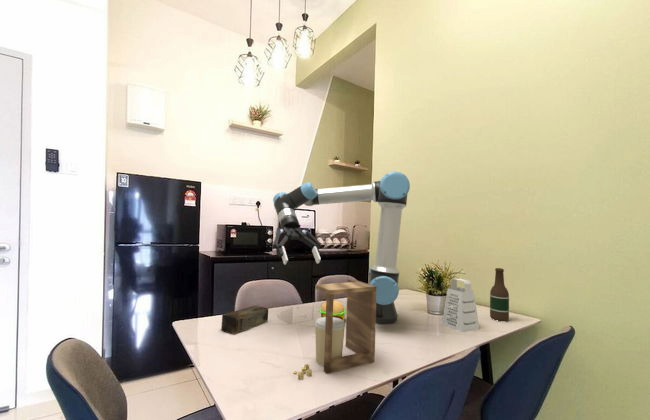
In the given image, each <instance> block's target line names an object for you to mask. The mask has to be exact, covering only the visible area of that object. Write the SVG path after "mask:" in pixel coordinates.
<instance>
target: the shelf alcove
mask: <svg viewBox="0 0 650 420" xmlns="http://www.w3.org/2000/svg"><path fill="white" fill-rule="evenodd" d="M376 288H377V286H373V285H370V284H369V283H366V282H363V281H360V280H357V279H354V278H347V282H336V283H334V282H333V283H322V284H315V289H316V290H318V291H320V292H322V293H325V294H326V295H325V296H326V301H325V302H326V323H325V352H324V366H323V372H324V373H325V374H330V373H334V372H339V371H344V370H347V369H351V368H356V367H359V366H360V367H361V366H364V365H368V364H372V363H375V357H376V355H375V354H376V327H377V326H376V324H377V323H376ZM339 294H346V315H345V316H346V317H345V318H346V321H345V322H346V323H345V347H346V348H347V349H349V350H350V351H351V352H353V354H348V355H342V357H338V358H333V359H332V329H333V300H334V297H335V296H334V295H339Z"/></svg>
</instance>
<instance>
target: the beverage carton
mask: <svg viewBox="0 0 650 420" xmlns="http://www.w3.org/2000/svg"><path fill="white" fill-rule="evenodd" d="M268 319H269V308H268V307H265V306H260V305H259V304H256V305H252V306H249V307H245V308H242V309H238V310H234V311H230V312H227V313H224V314H222V315H221V328H220V329H221V331H224V332H226V333H228V334H232V335H236V334H239V333H243V332H245V331H247V330H250V329H253V328H255V327H257V326H260V325H263V324H265V323H268V322H269V321H268Z"/></svg>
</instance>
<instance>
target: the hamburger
mask: <svg viewBox="0 0 650 420" xmlns="http://www.w3.org/2000/svg"><path fill="white" fill-rule="evenodd" d="M318 312H320V314H321V316H320V318H322V317H326V301H324V302H323V303H322V305H321V306H320V308H319V309H318ZM345 314H347V309H346V308H345V307H344V305H343V303H342V302H340V301H338V300H333V317H336V318H340V319H342V320H343V321H345V318H346V317H345V316H346V315H345Z"/></svg>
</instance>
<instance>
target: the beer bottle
mask: <svg viewBox="0 0 650 420" xmlns="http://www.w3.org/2000/svg"><path fill="white" fill-rule="evenodd" d="M494 271H495V274H494V275H495V277H494V283H493V284H494V285H493V286H492V287H491V289H490V292H489V293H490V294H489V317H491V318H492V319H491V318H490V319H491V320H493V319H494V320H493V321H496V320H498V321H497V322H501V321H507V322H509V319H510V295H509V290H508V288H507V287H506V286H505V278H504V277H505V276H504V275H505V274H504V272H505V270H504V268H501V267H500V268H499V267H496V268H495V269H494Z"/></svg>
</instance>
